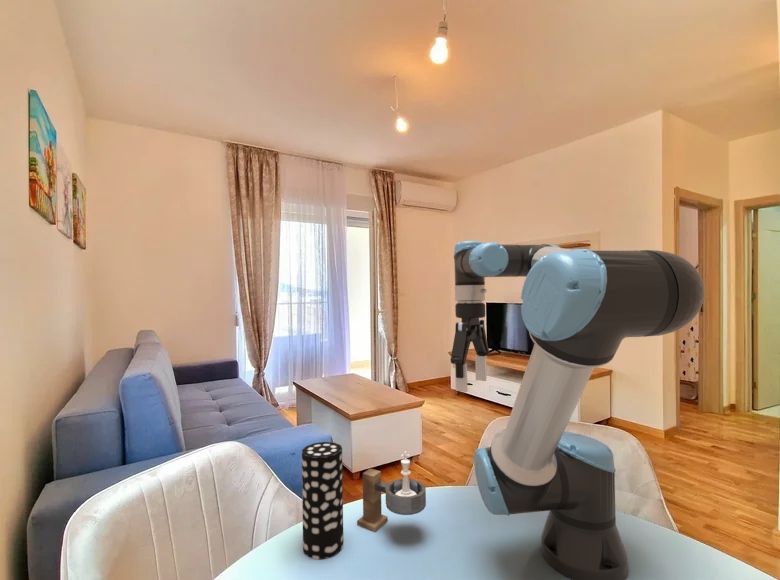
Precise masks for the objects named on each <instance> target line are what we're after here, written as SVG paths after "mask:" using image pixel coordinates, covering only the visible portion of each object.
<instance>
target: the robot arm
mask: <svg viewBox="0 0 780 580" xmlns="http://www.w3.org/2000/svg"><path fill="white" fill-rule="evenodd" d="M453 252H454V254H453V260H454V300H455V302H457V303H455V305H454V306H455V309H454V310H455V311H454V312H455V317H456V319H457V318H458V319H461V322H455V330H454V338H453V345H452V348H451V349H452V350H451V354H450V363H451V364H453V365H454V371H455V373H454V377H455V378H454V379H455V381H454V383H455V391H456V392H463V393H467V392H468V364H467V363H466V361H467V356H468V353H469V349H470V345H471V343H472V345H473V348H474V350H475V353H476V355H475V357H474V358H475V359H474V363H475V366H474V367H475V381H482V382H486V381H487V357H489V356H490V352H489V351H490V349H489V345H488V340H487V333H486V329H485V320H484V319H483V318H485V317H486V304H485V302H484V301H485V300H486V293H487V291H488V290H487V289H486V288H485V286H486V283H485V282H486V281H485V279H486V278H501V277H502V278H513V277H514V278H517V277H520V278H521V277H522V278H523V277H524V278H525V279H524V282H523V286H522V289H521V296H520V299H521V300H522V304H521V305H520V311H521V312H520V313H521V318H522V321H523V324H524V326H525V328H526V329H527V331H528V333H529V337H530V339H531V340H532V342H533V343H534V344H533V348H532V350H531V354H530V357H529V359H528V362H527V366H526V368H525V371H524V374H523V377H522V380H521V383H520V385H519V386H520V387H519V389H518V392H517V393H516V394H517V395H516V397H515V400H514V403H513V407H512V409H511V413H510V414H509V418H508V421H507V424H506V425H505V426H506V427H505V428H503V429H501V430H500V431H498V432H497V433H496V434H495V435H494V437H493V438H492V441H491V443H490V446H489V447H486V446H482V447H478V448H477V449H475V451H474V456H473V463H474V465H473V466H474V472H475V477H476V478H475V479H476V484H477V487H478V490H479V494H480V497H481V500H482V502H483V505H484V506H485V508H486V509H487V511H488V512H489V513H490V514H492V515H496V516H499V515H500V516H502V515H505V516H508V517H509V516H510V515H519V514H528V513H530V514H531V513H538V512H546V511H547V512H548V515H547V518H546V521H545V524H544V527H543V531H542V533H541V536H540V539H541V540H540V545H541V546H540V547H541V548H540V549H541V553H542V556H543V558H544V559H545V561H546V562H547V563H548V564H549V565H550V566H551V567H552V568H553V569H555V570H556V571H557V572H559V573H560V574H561V575H564V576H566V577H568V578H570V579H573V580H624V579H626V577H627V576H628V572H629V569H628V567H629V565H628V564H629V562H628V560H629V559H628V554H627V552H626V549H625V546H624V544H623V541H622V538H621V536H620V535H621V534H620V532H619V529H618V527H617V522H616V517H617V515H616V485H615V484H616V483H615V481H616V479H615V475H616V474H615V473H616V468H615V460H614V459H615V458H614V453H613V451H612V449H611V448H610V447H609V446H608V445H606V444H605V443H604V442H602V441H600V440H598V439H596V438H593V437H591V436H588V435H584V434H582V433H581V434H580V433H576V432H571V431H566V428H567V427H568V424H569V422H570V420H571V418H572V416H573V414H574V412H575V410H576V408H577V405H578V403H579V402H580V399H581V397H582V396H583V393H584V392H585V391H584V390H585V389H586V387H587V384H588V383H589V380H590V377H591V376H592V374H593V372H594V369H595V368H599V367H603V366H605V365H607V364H609V363H610V362H611V361H613V358H614V356H615V355H616V353H617V351H618V349H619V347H620V345H621V343H622V341H623V340H624V339H625V338H641V337H643V338H644V337H646V338H647V337H658V336H663V335H667V334H671V333H675V332H676V331H678V330H681V329H682V328H685V327H686V325H688V324H690V322H692V321H693V319H695V317H697V315H698V314H699V313H700V310H701V308H702V306H703V304H704V301H705V300H704V299H705V284H704V281H703V278H702V276H701V274H700V272H699V271H698V270H697V268H696V267H695V266H694V265H693V264H692V263H691V262H690V261H689V260H687V259H686V258H684V257H682V256H680V255H678V254H674V253H672V252H668V251H663V250H655V249H654V250H653V249H648V250H647V249H644V250H591V249H585V248H574V249H571V248H563V247H561V246H559V245H557V244H549V243H547V244H546V243H542V244H500V243H499V242H494V241H493V242H492V241H491V242H482V241H478V240H465V241H460V242H457V243H455V245H454V251H453Z"/></svg>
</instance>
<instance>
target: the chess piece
mask: <svg viewBox="0 0 780 580" xmlns="http://www.w3.org/2000/svg"><path fill="white" fill-rule="evenodd" d="M401 458H402V459H401V460H400V464H401V466H402V470H401V471H400V474H401V475H402V476H403V477H402V479H403V486H402V489H401V490H400V491H398V492H397V493H396V494H395V495H398V496H413V495H417V494H416V493H415V492H414V491H412V490H411V489H410V487H409V480H408V479H409V475H410V474H411V473H412V472H411V470H409V467H410V464H411V459H408V458H410V454H407V451H404V454H403V453H402V454H401ZM403 458H404V459H403Z"/></svg>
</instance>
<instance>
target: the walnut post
mask: <svg viewBox="0 0 780 580" xmlns="http://www.w3.org/2000/svg"><path fill="white" fill-rule="evenodd" d="M378 481H382V472H381V471H380V470H377V469H374V468H369V469H367V470H365V471H364V472H362V516H361V517H359V519H357V520H356V526H357V527H361V528H363V529H366V530H369V531H371V532H374V533H376V532H377V531H378V530H379V529H380V528H382V527H383V526H384V525H385V524H386V523H387V522H388V516H387V515H385V514H382V492H381V491H378V490H375V484H376V483H377V482H378Z"/></svg>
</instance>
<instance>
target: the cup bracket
mask: <svg viewBox="0 0 780 580" xmlns="http://www.w3.org/2000/svg"><path fill="white" fill-rule="evenodd" d="M408 480H409V487H410V489H411V490H412V491H414V492H415V493H416V494H417V495H413V496H398V495H395V494H396V493H397V492H398V491H400V490H401V489H402V486H403V478H399V479H394V480H391V481H390V482H385V481H382V480H381V481H378V482H377V483H376V484H375V490H378V491H381V493H385V506H386V508H387V510H388V511H390V512H391V513H393V514H397V515H401V516H411V515H412V516H413V515H417V514H419V513H421V512H423V511H424V510H425V508H426V505H427V494H426V492H427V491H426V489H427V488H426V484H424V483H423V482H421V480H416V479H413V478H408Z"/></svg>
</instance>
